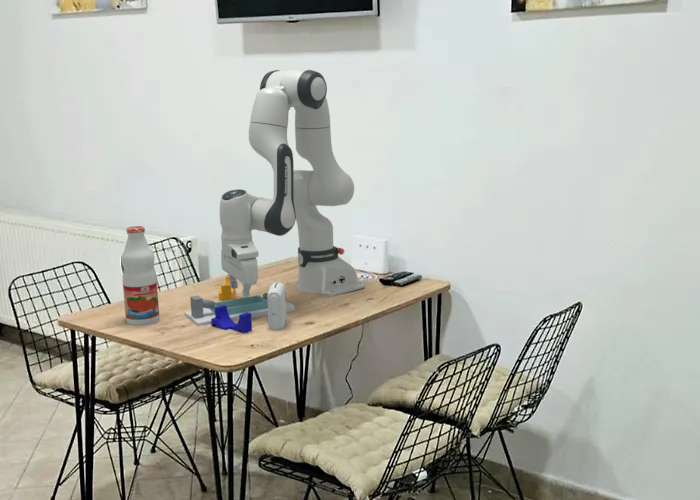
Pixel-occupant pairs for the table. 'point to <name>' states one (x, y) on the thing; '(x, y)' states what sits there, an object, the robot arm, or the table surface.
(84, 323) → the table surface
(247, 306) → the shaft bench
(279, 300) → the photo printer
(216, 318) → the blue curved cradle
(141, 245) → the fruit juice
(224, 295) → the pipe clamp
